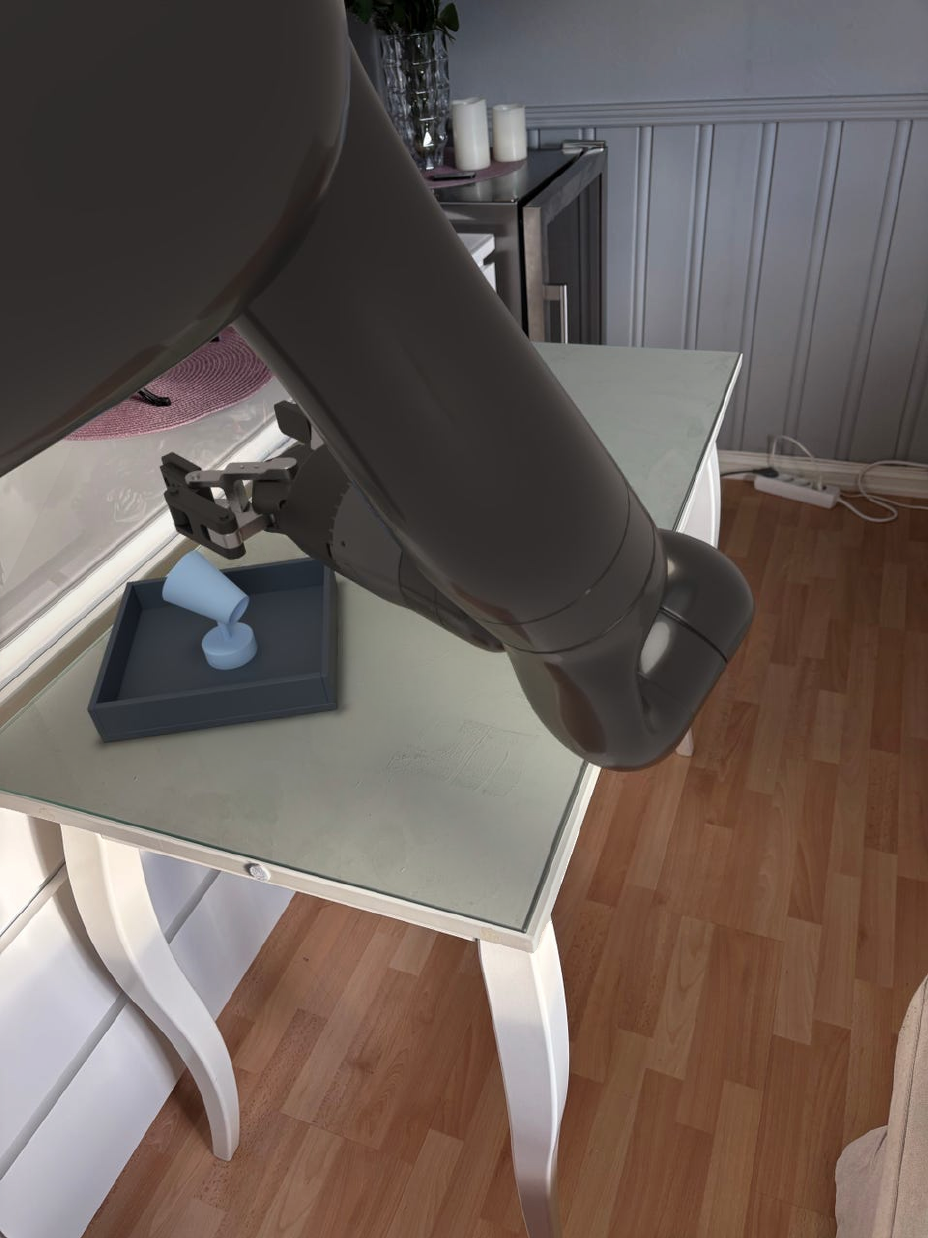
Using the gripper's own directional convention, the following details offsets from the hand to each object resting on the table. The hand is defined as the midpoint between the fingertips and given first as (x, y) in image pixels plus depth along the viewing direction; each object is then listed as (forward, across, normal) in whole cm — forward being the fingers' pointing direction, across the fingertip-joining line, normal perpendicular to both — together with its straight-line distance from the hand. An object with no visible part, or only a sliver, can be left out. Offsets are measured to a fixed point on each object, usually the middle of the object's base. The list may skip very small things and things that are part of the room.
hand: (226, 440), depth 59 cm
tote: (+11, 0, +25) cm, 27 cm away
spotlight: (+11, 0, +24) cm, 27 cm away
